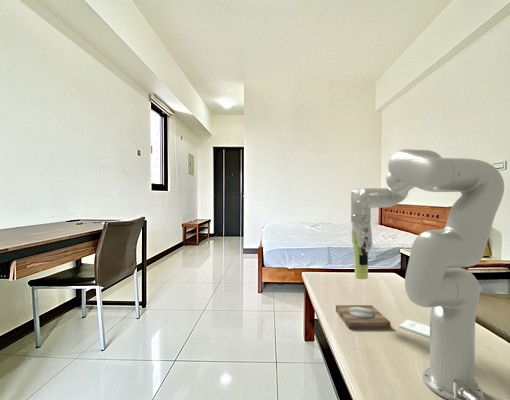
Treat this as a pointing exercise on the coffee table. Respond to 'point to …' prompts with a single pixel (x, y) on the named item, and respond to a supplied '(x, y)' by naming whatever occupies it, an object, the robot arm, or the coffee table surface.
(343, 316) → the walnut base
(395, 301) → the coffee table surface
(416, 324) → the external hard drive
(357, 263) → the tube
